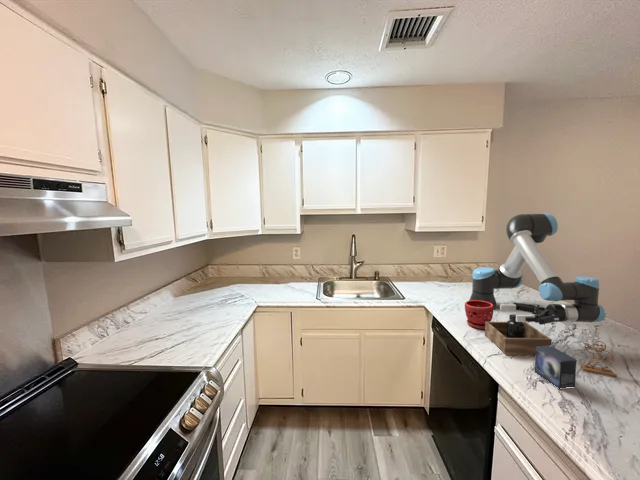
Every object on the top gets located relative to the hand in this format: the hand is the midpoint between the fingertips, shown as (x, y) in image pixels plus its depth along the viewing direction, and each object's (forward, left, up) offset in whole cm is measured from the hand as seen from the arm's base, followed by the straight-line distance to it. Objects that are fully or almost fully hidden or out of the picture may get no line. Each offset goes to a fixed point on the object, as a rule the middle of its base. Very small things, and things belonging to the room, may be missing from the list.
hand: (508, 312), depth 126 cm
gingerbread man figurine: (+20, +22, -15) cm, 33 cm away
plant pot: (-21, -3, -15) cm, 26 cm away
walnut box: (0, +4, -15) cm, 15 cm away
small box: (+26, +3, -15) cm, 30 cm away
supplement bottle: (0, +4, -14) cm, 14 cm away
